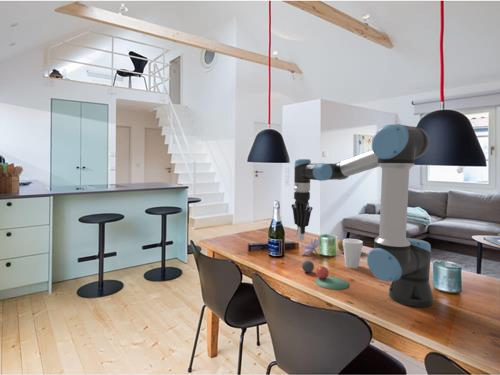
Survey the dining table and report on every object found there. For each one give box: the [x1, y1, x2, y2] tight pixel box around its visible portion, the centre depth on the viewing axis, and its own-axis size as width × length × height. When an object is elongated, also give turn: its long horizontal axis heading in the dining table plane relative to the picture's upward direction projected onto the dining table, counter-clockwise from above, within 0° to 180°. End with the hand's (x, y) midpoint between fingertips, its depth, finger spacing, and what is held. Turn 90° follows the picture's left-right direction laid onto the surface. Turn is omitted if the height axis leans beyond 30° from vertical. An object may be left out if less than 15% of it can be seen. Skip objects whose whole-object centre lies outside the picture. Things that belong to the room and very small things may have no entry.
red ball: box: [315, 265, 330, 279], centre depth 138 cm, size 6×6×6 cm
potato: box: [337, 238, 345, 253], centre depth 179 cm, size 10×14×8 cm
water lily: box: [301, 236, 321, 257], centre depth 173 cm, size 15×15×9 cm
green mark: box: [315, 276, 350, 291], centre depth 133 cm, size 14×14×1 cm
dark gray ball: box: [301, 260, 315, 273], centre depth 146 cm, size 6×6×6 cm
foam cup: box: [342, 238, 364, 269], centre depth 154 cm, size 10×9×13 cm
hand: (300, 239), depth 150 cm, fingers closed
